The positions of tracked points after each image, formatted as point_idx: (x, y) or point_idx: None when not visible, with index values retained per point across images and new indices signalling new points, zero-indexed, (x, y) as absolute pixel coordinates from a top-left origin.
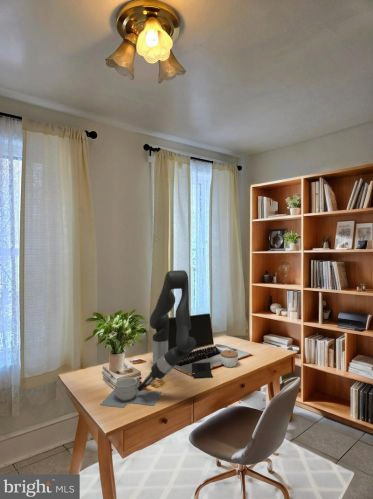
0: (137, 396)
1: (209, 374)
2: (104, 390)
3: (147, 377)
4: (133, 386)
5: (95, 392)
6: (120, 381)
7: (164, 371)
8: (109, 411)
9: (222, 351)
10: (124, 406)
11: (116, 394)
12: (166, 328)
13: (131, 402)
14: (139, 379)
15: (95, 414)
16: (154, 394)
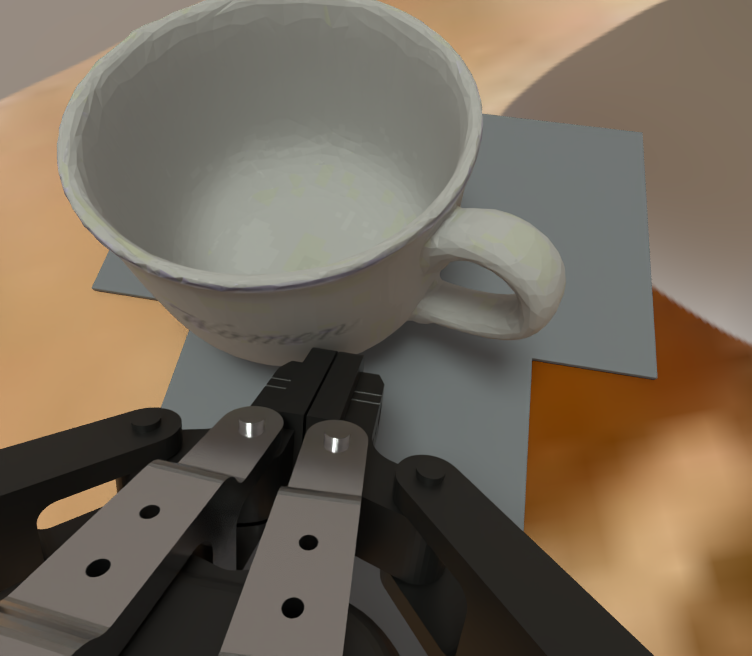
0: None
1: None
2: (472, 50)
3: (35, 593)
4: (130, 264)
5: (425, 3)
6: (399, 55)
7: None
8: (55, 178)
9: None
10: (113, 288)
11: (226, 133)
12: None
13: (195, 344)
14: (534, 318)
15: (32, 93)
16: (420, 650)
